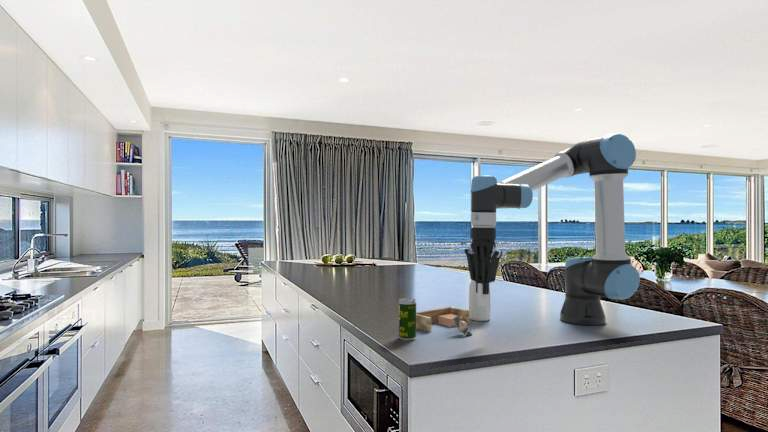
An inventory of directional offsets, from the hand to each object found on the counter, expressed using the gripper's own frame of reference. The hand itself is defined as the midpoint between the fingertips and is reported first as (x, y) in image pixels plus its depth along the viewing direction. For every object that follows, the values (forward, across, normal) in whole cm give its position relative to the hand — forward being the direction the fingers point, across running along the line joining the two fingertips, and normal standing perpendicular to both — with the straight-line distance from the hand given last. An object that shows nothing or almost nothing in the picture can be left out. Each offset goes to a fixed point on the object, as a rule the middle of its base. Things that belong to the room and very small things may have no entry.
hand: (482, 304), depth 140 cm
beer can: (+11, -16, -16) cm, 25 cm away
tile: (+11, -21, +9) cm, 25 cm away
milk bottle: (+11, -20, +23) cm, 32 cm away
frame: (+11, -22, +5) cm, 25 cm away
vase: (+11, -9, +1) cm, 14 cm away
